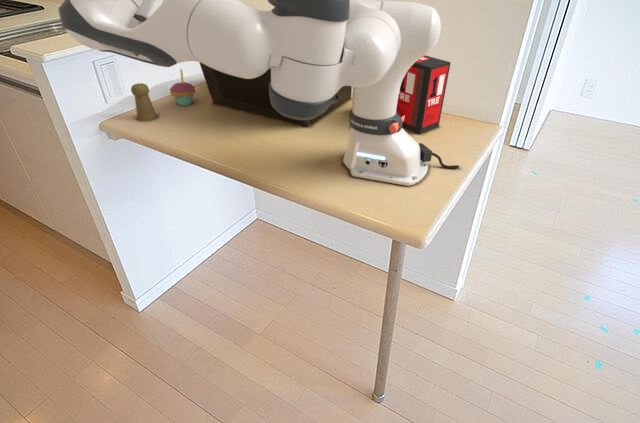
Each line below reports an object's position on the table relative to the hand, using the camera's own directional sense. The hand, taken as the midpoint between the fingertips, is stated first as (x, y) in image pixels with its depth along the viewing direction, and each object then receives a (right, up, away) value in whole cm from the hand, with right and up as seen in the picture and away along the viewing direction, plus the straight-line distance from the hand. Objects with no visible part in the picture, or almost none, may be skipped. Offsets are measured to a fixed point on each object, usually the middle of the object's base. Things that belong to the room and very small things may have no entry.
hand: (171, 40), depth 97 cm
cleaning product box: (+65, -12, +34) cm, 74 cm away
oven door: (+14, -10, +38) cm, 41 cm away
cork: (-21, -10, +36) cm, 43 cm away
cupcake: (-12, -3, +47) cm, 49 cm away
